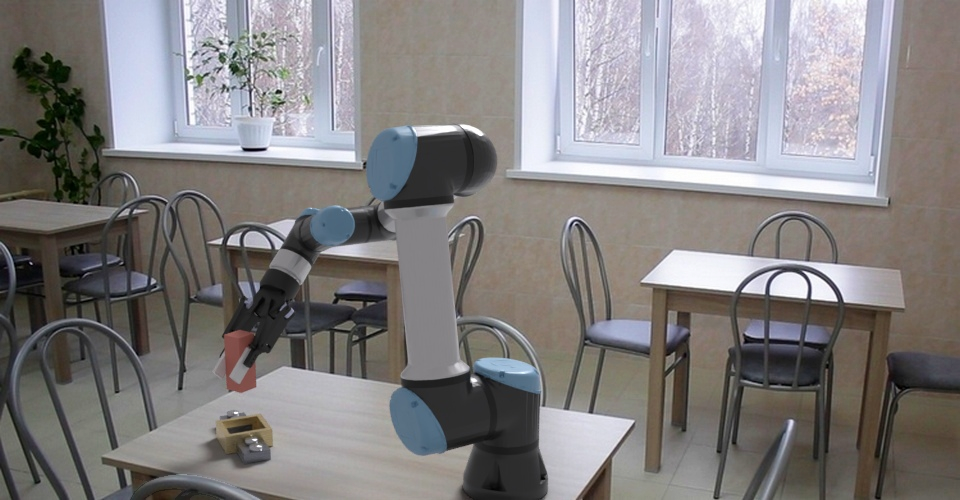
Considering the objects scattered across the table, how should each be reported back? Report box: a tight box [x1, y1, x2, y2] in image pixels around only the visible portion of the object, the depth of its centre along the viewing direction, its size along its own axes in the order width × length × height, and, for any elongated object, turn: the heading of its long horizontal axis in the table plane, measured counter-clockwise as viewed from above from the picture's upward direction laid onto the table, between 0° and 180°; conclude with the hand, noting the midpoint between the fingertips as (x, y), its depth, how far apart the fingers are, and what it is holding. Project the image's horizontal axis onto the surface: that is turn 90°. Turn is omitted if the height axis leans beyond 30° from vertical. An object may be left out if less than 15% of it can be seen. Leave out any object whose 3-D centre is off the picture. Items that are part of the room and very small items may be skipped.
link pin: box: [223, 330, 257, 394], centre depth 190 cm, size 4×4×11 cm
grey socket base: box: [215, 409, 274, 465], centre depth 193 cm, size 21×9×4 cm, turn 27°
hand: (225, 377), depth 188 cm, fingers closed on link pin, 4 cm apart
